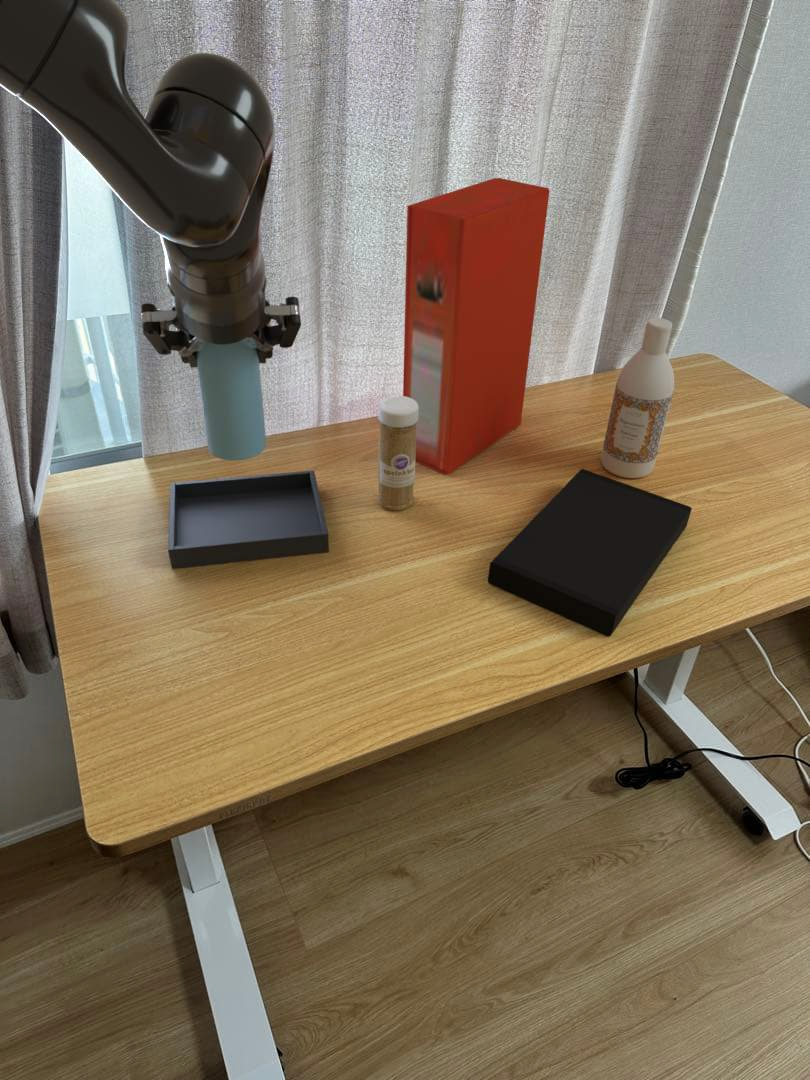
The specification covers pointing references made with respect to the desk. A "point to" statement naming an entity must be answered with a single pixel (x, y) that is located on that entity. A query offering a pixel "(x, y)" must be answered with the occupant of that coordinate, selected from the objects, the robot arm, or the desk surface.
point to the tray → (245, 519)
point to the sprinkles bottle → (397, 451)
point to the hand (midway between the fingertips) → (227, 356)
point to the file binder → (470, 315)
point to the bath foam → (640, 406)
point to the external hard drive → (590, 550)
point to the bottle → (232, 400)
